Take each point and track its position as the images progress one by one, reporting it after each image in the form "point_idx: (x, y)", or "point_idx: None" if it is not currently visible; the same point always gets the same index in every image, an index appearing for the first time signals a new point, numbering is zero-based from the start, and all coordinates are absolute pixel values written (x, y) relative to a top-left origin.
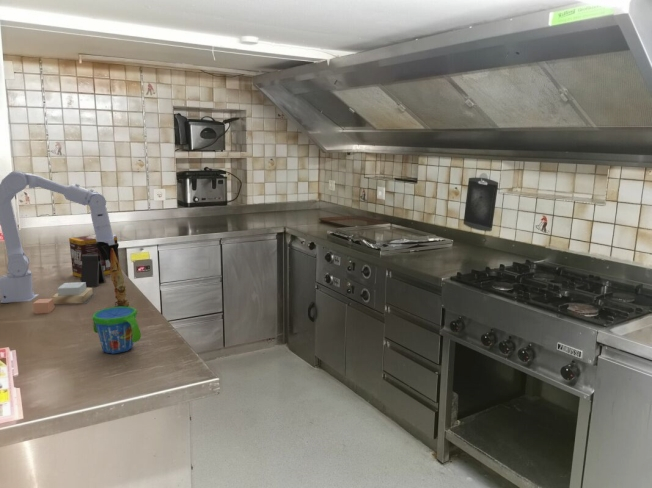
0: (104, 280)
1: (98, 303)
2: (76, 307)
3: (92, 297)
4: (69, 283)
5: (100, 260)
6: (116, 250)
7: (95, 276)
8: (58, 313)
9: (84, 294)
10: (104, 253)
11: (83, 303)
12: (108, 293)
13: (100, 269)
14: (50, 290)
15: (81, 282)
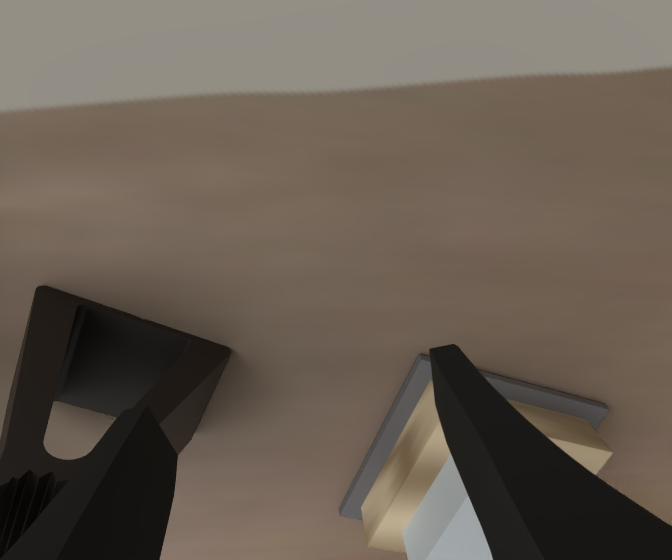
0: (59, 303)
1: (618, 349)
2: (608, 441)
3: (501, 381)
4: (447, 557)
5: (7, 471)
6: (613, 498)
7: (181, 407)
8: (645, 498)
9: (587, 447)
10: (137, 545)
11: (594, 421)
12: (423, 286)
13: (53, 396)
14: (175, 555)
15: (468, 504)
